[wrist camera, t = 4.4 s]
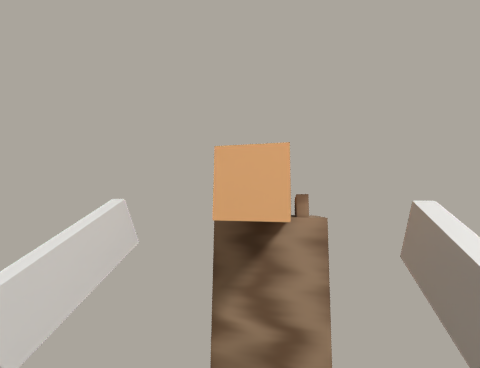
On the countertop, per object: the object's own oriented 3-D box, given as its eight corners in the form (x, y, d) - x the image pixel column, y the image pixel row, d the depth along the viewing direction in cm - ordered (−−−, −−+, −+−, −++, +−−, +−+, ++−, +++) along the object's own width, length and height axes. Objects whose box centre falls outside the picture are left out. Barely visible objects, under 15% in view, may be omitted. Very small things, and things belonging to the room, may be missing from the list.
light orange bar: (212, 220, 12) (214, 146, 12) (263, 214, 33) (263, 187, 34) (290, 222, 11) (289, 142, 11) (291, 214, 32) (290, 187, 33)
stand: (204, 601, 18) (215, 194, 22) (235, 463, 27) (238, 199, 31) (341, 658, 16) (326, 194, 19) (321, 486, 25) (314, 199, 29)
